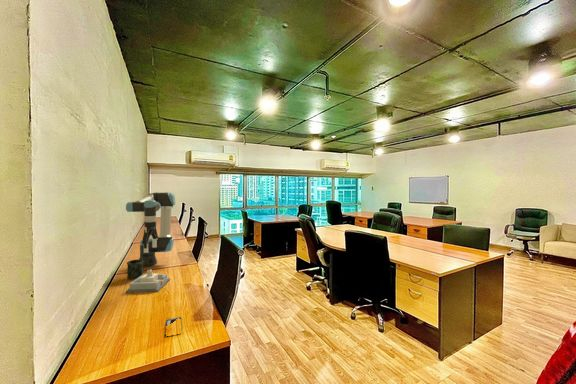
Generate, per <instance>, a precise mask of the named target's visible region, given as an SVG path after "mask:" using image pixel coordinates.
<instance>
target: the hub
mask: <svg viewBox="0 0 576 384" xmlns="http://www.w3.org/2000/svg"><path fill="white" fill-rule="evenodd" d="M158 274H159V273H158V272H157V273H152V276H151V277H147V273H144V274H143V275H144V276H142V277H141V278H140V283H143V282H156V281H157V280H158ZM163 283H164V280H161V285H162V284H163Z"/></svg>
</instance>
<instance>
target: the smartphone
mask: <svg viewBox="0 0 576 384" xmlns="http://www.w3.org/2000/svg"><path fill="white" fill-rule="evenodd" d="M178 318H179V319H181V318H182V316H179V317H173V318H169V319H166V320H165V325H166V326H168V325H169V324H171V323H173V322H174V321H176V320H178Z"/></svg>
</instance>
